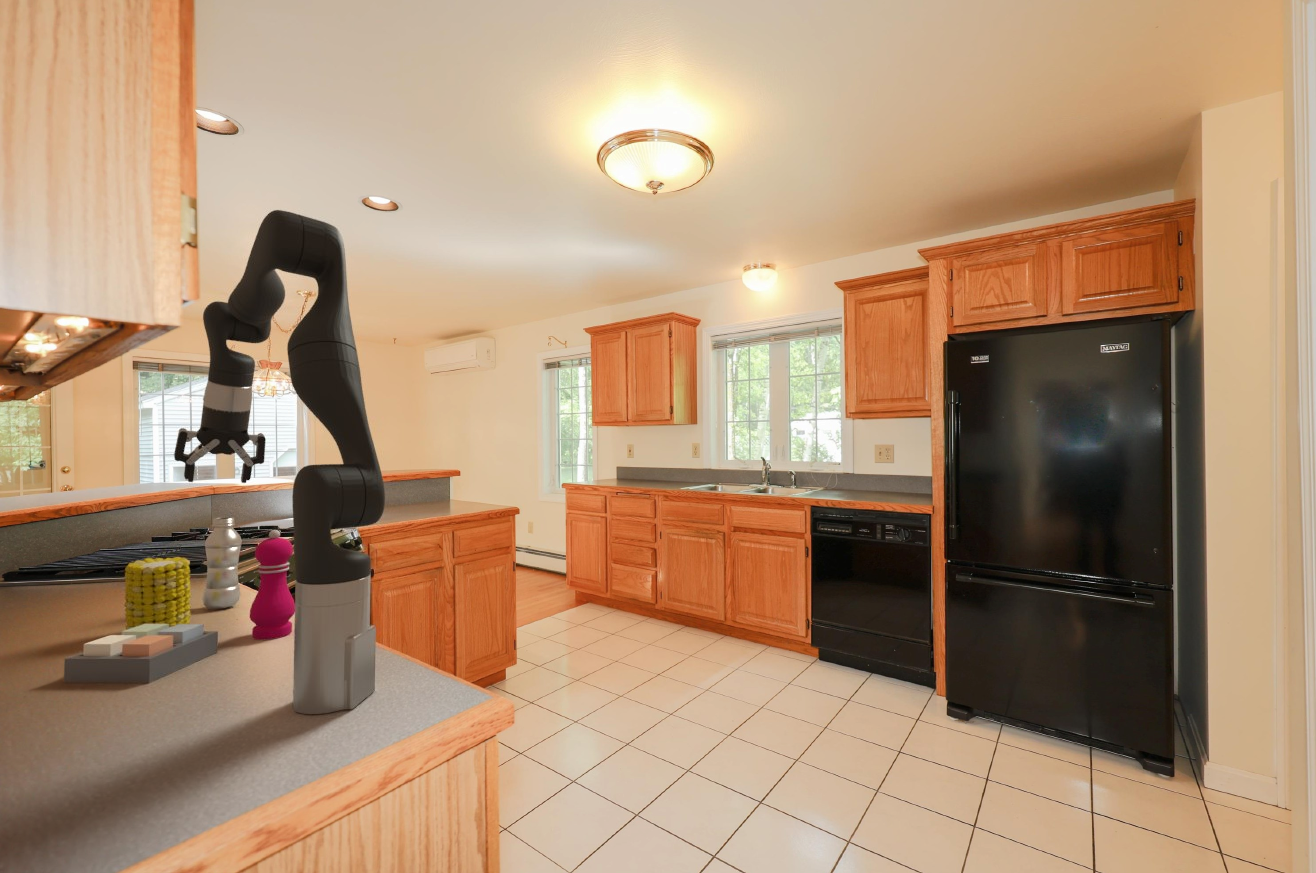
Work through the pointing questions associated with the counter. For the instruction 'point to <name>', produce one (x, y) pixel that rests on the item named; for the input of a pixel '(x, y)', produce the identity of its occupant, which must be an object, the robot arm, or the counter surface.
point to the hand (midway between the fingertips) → (217, 481)
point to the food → (157, 592)
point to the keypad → (139, 663)
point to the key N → (107, 645)
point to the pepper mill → (272, 590)
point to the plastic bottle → (222, 565)
